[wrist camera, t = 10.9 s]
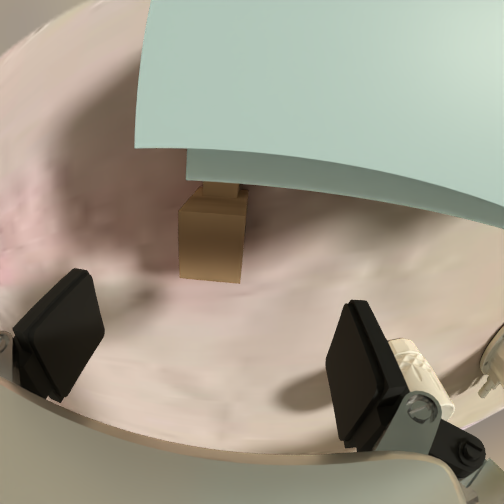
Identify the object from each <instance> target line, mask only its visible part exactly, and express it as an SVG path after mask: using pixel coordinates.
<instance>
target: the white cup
mask: <svg viewBox="0 0 504 504" xmlns="http://www.w3.org/2000/svg"><path fill="white" fill-rule="evenodd" d="M388 343H389V345H390V347H391V349H392V352H393V354H394V356H395V358H396V360H397V363H398V365H399V367H400V369H401V372H402V374H403V376H404V379H405V381H406V383H407V386H408V388H409V390H410V392H413V391H424V392H427V393H429V394H431V395H432V396H434V397H435V398H436V399H437V400H438V402H439V404H440V406H441V410H442V416H441V419H443V420H445V421H448V420H449V419H450V417H451V416H452V415H453V413H454V410H455V406H454V404H453V402H452V401H451V399H450V397H449V396H448V394H447V392H446V391H445V389H444V387H443V385H442V384H441V382H440V381H439V379H438V377H437V376H436V374H435V373H434V371H433V369H432V368H431V366H430V365H429V364H428V362H427V360H426V359H425V358H424V357H423V356H422V355H421V353H420V352H419V350H418V349H417V347H416V346H415V344H414V343H413V342H412V340H408V339H404V338H401V339H395V340H391V341H389V342H388Z"/></svg>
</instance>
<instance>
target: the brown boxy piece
mask: <svg viewBox="0 0 504 504" xmlns="http://www.w3.org/2000/svg"><path fill="white" fill-rule="evenodd" d="M239 187H240V184H239V183H225V182H210V181H203V187H199V188H198V189H197V190H196V191H195V193H194V194H193V195H192V196H191V197H190V198H189V199H188V200H187V202H186V203H185V204H184V205H183V206H182V207H181V209H180V210H179V211H178V241H179V274H180V278H186V279H196V280H206V281H217V282H228V283H239V284H240V278H241V268H242V257H243V247H244V236H245V224H246V212H247V201H248V190H240V189H239Z"/></svg>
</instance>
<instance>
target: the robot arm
mask: <svg viewBox="0 0 504 504" xmlns="http://www.w3.org/2000/svg"><path fill="white" fill-rule="evenodd" d="M12 329H13V331H14V334H15V337H14V338H13V337H12V336H11V334H10V333H8V332H6V331H0V504H504V471H503V470H502V469H501V468H499V466H498V465H497V464H495V462H493V461H492V460H491V459H490V458H488V459H487V460H486V459H485V455H486V453H485V448H484V445H483V444H482V442H481V441H480V440H479V439H478V438H477V437H475V436H473V435H471V434H469V433H467V432H465V431H464V430H462V429H460V428H458V427H456V426H454V425H452V424H450V423H449V422H447V421H445V420H443V419H441V416H442V410H441V406H440V404H439V402H438V400H437V399H436V398H435V397H434V396H432V395H431V394H429V393H427V392H424V391H413V392H410V390H409V388H408V386H407V383H406V381H405V379H404V376H403V374H402V372H401V369H400V367H399V365H398V363H397V360H396V358H395V356H394V354H393V352H392V349H391V347H390V345H389V343H388V341H387V339H386V338H385V336H384V334H383V332H382V330H381V328H380V326H379V324H378V322H377V320H376V318H375V316H374V314H373V312H372V310H371V308H370V306H369V304H368V302H367V301H365V300H350V302H349V304H347V303H346V304H345V305H344V307H343V310H342V313H341V316H340V319H339V322H338V325H337V328H336V331H335V334H334V337H333V340H332V343H331V346H330V348H329V351H328V354H327V357H326V370H327V375H328V380H329V386H330V391H331V396H332V401H333V407H334V412H335V418H336V424H337V430H338V435H339V439H340V440H341V441H344V445H345V448H354V447H356V448H357V452H351V453H337V454H315V455H279V454H256V453H243V452H232V451H223V450H215V449H208V448H202V447H196V446H190V445H184V444H179V443H174V442H169V441H165V440H160V439H156V438H152V437H148V436H144V435H140V434H137V433H133V432H130V431H126V430H123V429H120V428H117V427H113V426H110V425H107V424H104V423H102V422H99V421H96V420H93V419H90V418H88V417H85V416H83V415H80V414H77V413H75V412H73V411H70V410H68V409H65V408H63V407H61V406H59V405H56V404H54V403H52V402H50V401H48V400H46V398H47V396H48V395H49V397H50V398H51V399H53V400H55V401H57V402H59V403H61V402H62V400H63V398H64V397H67V396H68V394H69V393H70V391H71V389H72V388H73V386H74V384H75V382H76V381H77V379H78V377H79V376H80V374H81V372H82V371H83V369H84V367H85V366H86V364H87V362H88V361H89V359H90V358H91V356H92V354H93V353H94V351H95V350H96V348H97V347H98V345H99V343H100V342H101V340H102V339H103V337H104V333H105V329H104V325H103V322H102V318H101V314H100V310H99V306H98V302H97V297H96V293H95V288H94V284H93V279H92V276H91V275H90V274H89V272H88V271H87V270H82V269H76V268H74V269H72V270H71V271H70V272H69V273H68V274H67V275H66V276H65V277H63V278H62V279H61V280H60V281H59V282H58V283H57V284H56V285H55V286H54V287H53V288H52V289H51V290H50V291H49V292H48V293H47V294H45V295H44V296H43V297H42V298H41V299H40V300H39V301H38V302H37V303H36V304H35V305H34V306H33V307H32V308H31V309H30V310H29V311H28V313H27V314H26V315H25V316H24V317H23V318H22V319H21V320H20V321H19V322H18V323H17V324H16V325H15V326H14V327H13V328H12ZM480 370H481V371H482V373H483V374H485V375H489V376H488V378H487V382H486V383H485V384H484V385H483V386H482V387H481V389H480V390H479V392H478V395H479V396H480V397H481V398H485V397H486V395H487V394H488V393H489V392H490V390H491V389H496V387H497V386H498V385H499V384H501V385H502V387H503V388H504V326H503V327H502V328H501V329H500V330H499V332H498V333H497V334H496V335H495V337H494V338H493V339H492V341H491V342H490V344H489V345H488V347H487V348H486V350H485V352H484V354H483V356H482V358H481V361H480Z"/></svg>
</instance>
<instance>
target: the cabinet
mask: <svg viewBox="0 0 504 504" xmlns="http://www.w3.org/2000/svg"><path fill="white" fill-rule="evenodd" d="M135 148H187V165H186V180H193V181H210V182H225V183H239V184H251V185H262V186H272V187H282V188H291V189H299V190H308V191H315V192H323V193H330V194H338V195H344V196H351V197H357V198H364V199H370V200H376V201H382V202H387V203H393V204H398V205H403V206H409V207H414V208H419V209H424V210H428V211H433V212H438V213H442V214H447V215H451V216H455V217H459V218H464V219H468V220H472V221H476V222H480V223H483V224H487V225H491V226H495V227H498V228H502V229H504V0H151V4H150V8H149V13H148V18H147V24H146V29H145V35H144V41H143V48H142V55H141V63H140V71H139V80H138V91H137V104H136V120H135Z"/></svg>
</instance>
